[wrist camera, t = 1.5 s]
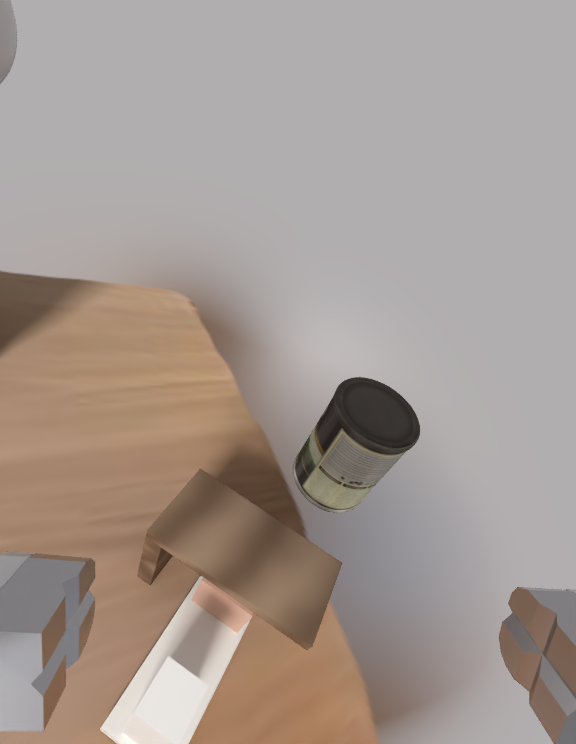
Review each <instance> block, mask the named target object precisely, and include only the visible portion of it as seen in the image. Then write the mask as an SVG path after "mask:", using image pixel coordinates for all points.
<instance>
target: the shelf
mask: <svg viewBox="0 0 576 744" xmlns="http://www.w3.org/2000/svg"><path fill="white" fill-rule="evenodd" d="M172 555H173V556H174V557H176V558H177V559H178V560H180V561H181V562H183V563H184V564H185V565H187V566H188V567H190V568H191V569H193V570H194V571H195V572H197V573H198V574H200V575H201V576H202V577H204V578H205V579H207V580H208V581H209V582H211V583H212V584H214V585H215V586H217V587H218V588H219V589H221V590H222V591H224V592H225V593H226V594H228V595H229V596H231V597H232V598H234V599H235V600H236V601H238V602H239V603H241V604H242V605H243V606H245V607H246V608H248V609H249V610H250V611H252V612H253V613H255V614H256V615H258V616H259V617H260V618H262V619H263V620H265V621H266V622H267V623H269V624H270V625H272V626H273V627H275V628H276V629H277V630H279V631H280V632H282V633H283V634H284V635H286V636H287V637H289V638H290V639H292V640H293V641H294V642H296V643H297V644H299V645H300V646H301V647H303V648H304V649H306V650H308V649H309V648H311V647H312V646H313V643H314V641H315V638H316V635H317V632H318V629H319V627H320V624H321V621H322V618H323V615H324V613H325V610H326V607H327V604H328V601H329V599H330V596H331V593H332V590H333V587H334V585H335V582H336V579H337V576H338V574H339V571H340V568H341V565H342V562H340V561H339V560H337V559H336V558H334V557H333V556H331V555H330V554H328V553H326V552H325V551H323V550H322V549H320V548H319V547H317V546H316V545H314V544H313V543H311V542H310V541H309V540H307V539H306V538H304V537H302V536H301V535H299V534H298V533H296V532H295V531H293V530H292V529H290V528H289V527H287V526H286V525H284V524H283V523H281V522H280V521H278V520H277V519H275V518H274V517H272V516H271V515H269V514H268V513H266V512H265V511H263V510H262V509H260V508H259V507H257V506H256V505H254V504H253V503H251V502H250V501H248V500H247V499H245V498H244V497H242V496H241V495H239V494H238V493H236V492H235V491H233V490H232V489H230V488H229V487H227V486H226V485H224V484H223V483H221V482H220V481H218V480H217V479H215V478H214V477H212V476H211V475H209V474H208V473H206V472H205V471H203V470H202V469H199V471H198V472H197V473H196V474H195V475H194V476H193V478H192V479H191V480H190V481H189V482H188V483H187V485H186V486H185V487H184V488H183V489H182V491H181V492H180V493H179V494H178V495H177V496H176V498H175V499H174V500H173V501H172V502H171V503H170V505H169V506H168V507H167V508H166V509H165V510H164V512H163V513H162V514H161V515H160V516H159V517H158V519H157V520H156V521H155V522H154V523H153V524H152V526H151V527H150V528H149V529H148V531H147V535H146V540H145V544H144V548H143V553H142V557H141V562H140V566H139V570H138V575H137V576H138V577H139V578H141V579H142V580H144V581H145V582H146V583H148V584H149V585H151V583H152V582H153V581H154V579H155V578H156V577H157V575H158V574H159V573H160V571H161V570H162V569H163V567H164V566H165V565H166V563H167V562H168V561H169V559H170V558H171V557H172Z"/></svg>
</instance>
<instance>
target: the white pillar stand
mask: <svg viewBox="0 0 576 744" xmlns="http://www.w3.org/2000/svg"><path fill="white" fill-rule="evenodd" d="M202 579H203V577H202V576H200V577H199V579H198V580H197V582H196V583H195V585H194V587H193V588H192V590H191V591H190V593H189V594H188V596H187V597H186V599H185V600H184V602H183V603H182V605H181V606H180V608H179V609H178V611H177V612H176V614H175V615H174V617H173V619H172V620H171V622H170V623H169V625H168V626H167V628H166V629H165V631H164V632H163V634H162V635H161V637H160V638H159V640H158V641H157V643H156V644H155V646H154V648H153V649H152V651H151V652H150V654H149V655H148V657H147V658H146V660H145V661H144V663H143V664H142V666H141V667H140V669H139V670H138V672H137V673H136V675H135V677H134V678H133V680H132V681H131V683H130V684H129V686H128V687H127V689H126V690H125V692H124V693H123V695H122V696H121V698H120V699H119V701H118V702H117V704H116V706H115V707H114V709H113V710H112V712H111V713H110V715H109V716H108V718H107V719H106V721H105V722H104V724H103V725H102V727H101V729H100V730H101V731H102V732H103V733H104V734H106V735H107V736H108V737H109V738H111V739H112V740H113V741H114V742H116V743H117V744H189V742H190V740H191V738H192V736H193V734H194V732H195V730H196V728H197V726H198V724H199V722H200V720H201V718H202V716H203V714H204V712H205V710H206V708H207V706H208V704H209V702H210V700H211V698H212V696H213V694H214V692H215V690H216V688H217V686H218V684H219V682H220V680H221V678H222V676H223V674H224V672H225V670H226V667H227V665H228V663H229V661H230V659H231V657H232V655H233V653H234V651H235V649H236V647H237V645H238V643H239V641H240V639H241V637H242V635H243V633H244V631H245V629H246V627H247V625H248V623H249V621H250V620H249V621H248V622H247V623H246V624H245V625H244V626H243V627H242V628H241V630H240V631H239V632H238V633H236V632H235V631H233V630H232V629H231V628H229V627H228V626H226V625H225V624H224V623H222V622H221V621H219V620H218V619H217V618H215V617H214V616H212V615H211V614H210V613H208V612H207V611H206V610H204V609H203V608H201V607H200V606H199V605H197V604H196V603H194V602H193V601H192V598H193V596H194V594H195V592H196V590H197V588H198V586H199V584H200V582H201V580H202ZM250 619H251V618H250Z"/></svg>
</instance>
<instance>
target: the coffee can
mask: <svg viewBox="0 0 576 744" xmlns="http://www.w3.org/2000/svg"><path fill="white" fill-rule="evenodd" d="M419 435H420V425H419V421H418V418H417V416H416V414H415V412H414V410H413V409H412V407H411V406H410V405H409V404H408V402H407V401H406V400H405V399H404V398H403V397H402V396H401V395H400V394H398V393H397V392H396V391H394V390H393V389H392V388H390V387H388V386H387V385H385V384H383V383H380V382H378V381H375V380H372V379H368V378H361V377H358V378H351V379H347V380H345V381H343V382H342V383H341V384H340V385H339V386H338V388H337V390H336V392H335V394H334V396H333V398H332V400H331V401H330V403H329V405H328V406H327V408H326V410H325V411H324V413H323V415H322V416H321V418H320V420H319V421H318V423H317V425H316V426H315V428H314V429H313V431H312V433H311V435H310V436H309V438H308V439H307V441H306V443H305V444H304V446H303V447H302V449H301V451H300V452H299V453H298V455H297V456H296V458H295V461H294V464H293V474H294V479H295V481H296V484H297V486H298V488H299V490H300V491H301V493H302V494H303V495H304V496H305V498H306V499H307V500H309V501H310V502H311V503H312V504H314V505H315V506H317V507H319V508H320V509H323V510H325V511H328V512H333V513H343V512H347V511H350V510H352V509H354V508H355V507H356V506H357V505H358V504H359V503H360V502H361V500H362V499H363V498H364V497H365V496H366V494H367V493H368V492H369V491H370V490H371V489H372V488H373V487H374V486H375V485H376V484H377V482H378V481H379V480H380V479H381V478H382V477H383V476H384V475H385V474H386V473H387V472H388V471H389V469H390V468H391V467H392V466H393V465H394V464H395V463H396V462H397V461H398V460H399V459H400V457H401V456H402V455H403V454H404V453H405V452H406V451H407V450H409V449H410V448H411V447H412V446H414V445H415V443H416V442H417V440H418V438H419Z"/></svg>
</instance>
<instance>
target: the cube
mask: <svg viewBox="0 0 576 744" xmlns="http://www.w3.org/2000/svg"><path fill="white" fill-rule="evenodd" d="M192 601H193V602H194V603H196V604H197V605H199V606H200V607H201V608H203V609H204V610H206V611H207V612H208V613H210V614H211V615H212V616H214V617H215V618H217V619H218V620H219V621H221V622H222V623H224V624H225V625H226V626H228V627H229V628H231V629H232V630H233V631H235V632H236V633H238V632H239V631H240V630H241V628H242V627H243V626H244V625H245V624H246V623H247V622H248V621H249V620H250V618H251V617H252V616H253V614H254V613H253V612H252V611H250V610H249V609H248V608H246V607H245V606H243V605H242V604H241V603H239V602H238V601H236V600H235V599H234V598H232V597H231V596H229V595H228V594H226V593H225V592H224V591H222V590H221V589H219V588H218V587H217V586H215V585H214V584H212V583H211V582H209V581H208V580H207V579H205V578H204V577H203V579H202V580H201V582H200V584H199V586H198V588H197V590H196V592H195V594H194V596H193V598H192Z"/></svg>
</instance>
